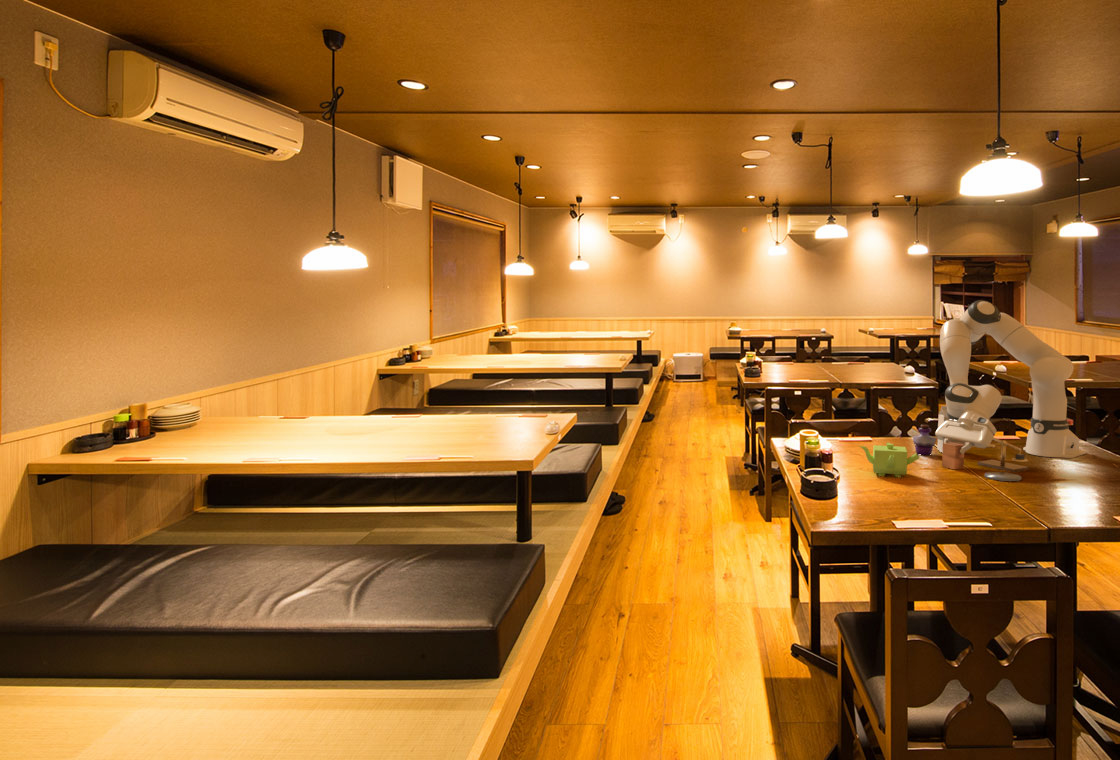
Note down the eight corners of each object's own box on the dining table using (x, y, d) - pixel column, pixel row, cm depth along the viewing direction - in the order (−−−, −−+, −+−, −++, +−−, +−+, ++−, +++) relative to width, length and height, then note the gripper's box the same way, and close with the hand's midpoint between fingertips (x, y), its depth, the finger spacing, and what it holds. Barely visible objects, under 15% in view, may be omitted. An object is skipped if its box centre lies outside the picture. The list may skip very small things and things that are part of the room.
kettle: (857, 472, 265) (858, 442, 264) (885, 468, 272) (886, 438, 270) (892, 481, 252) (893, 449, 251) (920, 476, 258) (921, 445, 257)
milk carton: (961, 454, 292) (963, 407, 290) (942, 453, 293) (944, 407, 291) (955, 450, 299) (957, 404, 296) (937, 450, 300) (938, 404, 298)
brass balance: (987, 461, 278) (989, 433, 277) (1033, 471, 262) (1035, 441, 261) (973, 463, 275) (974, 435, 274) (1018, 473, 259) (1020, 443, 258)
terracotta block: (951, 465, 273) (952, 442, 272) (963, 468, 269) (964, 444, 268) (942, 467, 271) (943, 443, 270) (954, 470, 267) (955, 445, 266)
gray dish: (998, 472, 261) (998, 470, 261) (1028, 479, 251) (1028, 477, 251) (977, 476, 257) (977, 473, 257) (1007, 483, 247) (1007, 480, 247)
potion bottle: (923, 451, 298) (924, 422, 297) (940, 455, 290) (942, 425, 289) (906, 453, 296) (907, 424, 294) (923, 457, 288) (924, 427, 286)
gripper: (943, 413, 280) (924, 440, 277) (993, 421, 261) (973, 450, 259) (951, 423, 282) (932, 451, 280) (1001, 432, 264) (981, 461, 261)
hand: (952, 451), depth 269 cm, fingers closed on terracotta block, 5 cm apart
